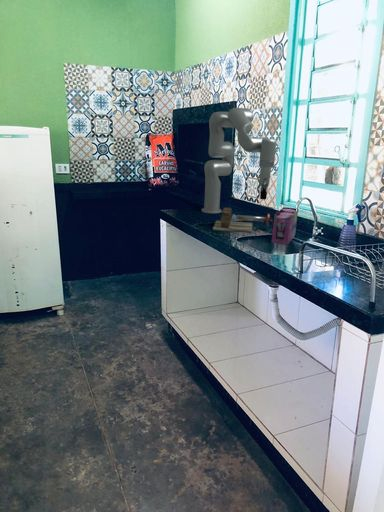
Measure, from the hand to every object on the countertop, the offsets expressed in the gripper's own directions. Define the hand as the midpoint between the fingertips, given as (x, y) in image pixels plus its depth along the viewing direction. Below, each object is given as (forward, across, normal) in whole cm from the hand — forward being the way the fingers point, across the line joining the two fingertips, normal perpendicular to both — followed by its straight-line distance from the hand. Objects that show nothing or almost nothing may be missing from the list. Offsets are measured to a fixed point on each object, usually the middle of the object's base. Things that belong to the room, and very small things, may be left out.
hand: (263, 197), depth 211 cm
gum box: (+17, +16, +12) cm, 26 cm away
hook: (+15, 0, -3) cm, 15 cm away
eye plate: (+17, 0, -14) cm, 22 cm away
